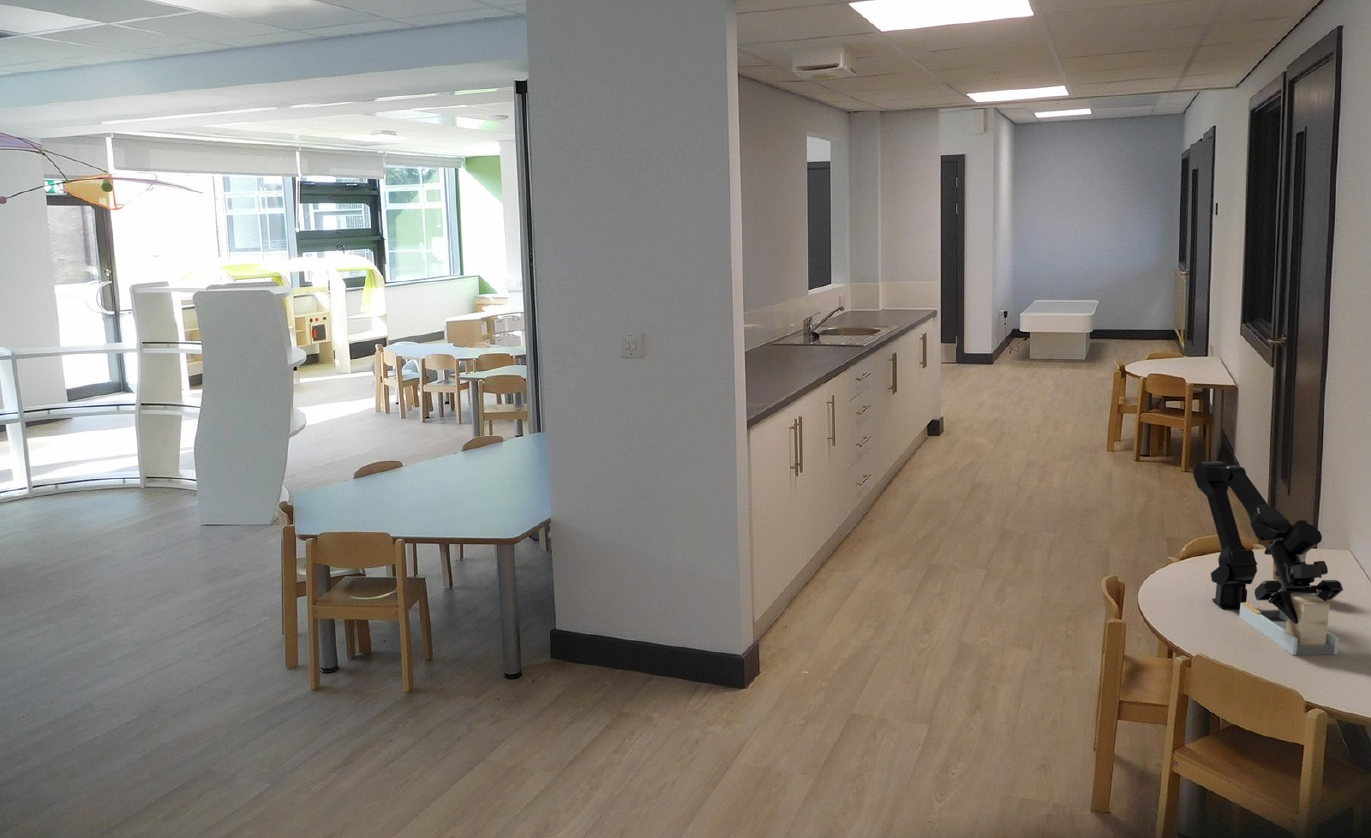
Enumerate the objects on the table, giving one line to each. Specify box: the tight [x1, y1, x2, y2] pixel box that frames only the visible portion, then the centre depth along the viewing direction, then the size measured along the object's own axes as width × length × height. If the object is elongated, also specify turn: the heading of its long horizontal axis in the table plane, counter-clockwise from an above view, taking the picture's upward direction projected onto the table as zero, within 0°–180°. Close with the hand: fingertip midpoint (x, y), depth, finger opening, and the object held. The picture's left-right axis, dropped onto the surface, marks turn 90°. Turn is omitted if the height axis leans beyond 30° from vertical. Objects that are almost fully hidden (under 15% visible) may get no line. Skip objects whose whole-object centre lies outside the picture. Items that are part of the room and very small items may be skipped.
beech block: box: [1286, 594, 1331, 645], centre depth 258 cm, size 6×6×10 cm
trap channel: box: [1238, 602, 1340, 656], centre depth 267 cm, size 24×11×4 cm, turn 1°
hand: (1310, 623), depth 257 cm, fingers closed on beech block, 6 cm apart
